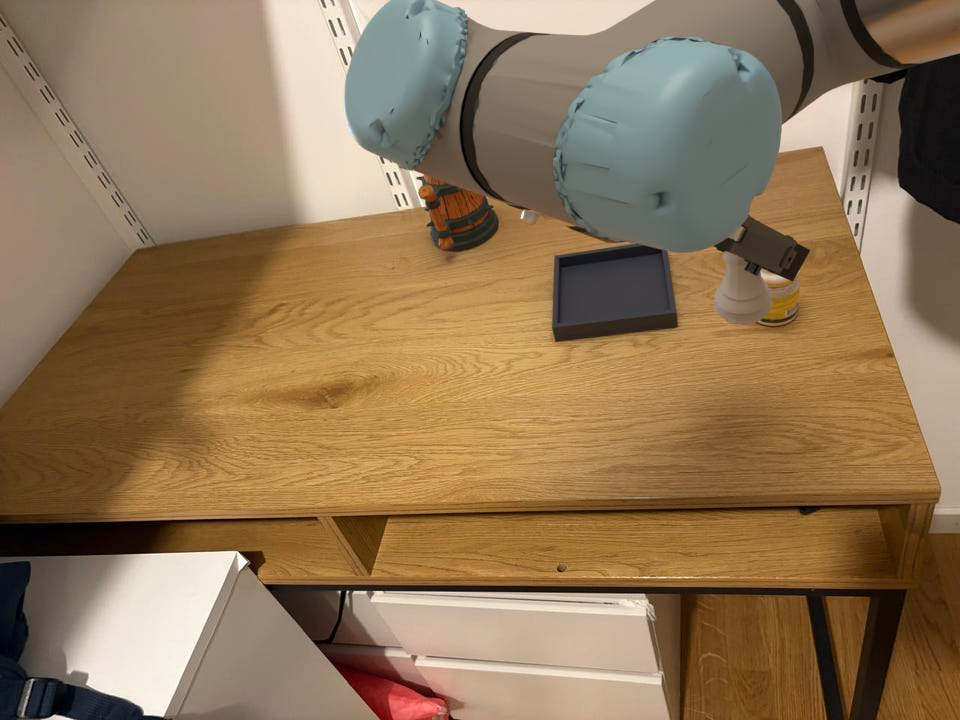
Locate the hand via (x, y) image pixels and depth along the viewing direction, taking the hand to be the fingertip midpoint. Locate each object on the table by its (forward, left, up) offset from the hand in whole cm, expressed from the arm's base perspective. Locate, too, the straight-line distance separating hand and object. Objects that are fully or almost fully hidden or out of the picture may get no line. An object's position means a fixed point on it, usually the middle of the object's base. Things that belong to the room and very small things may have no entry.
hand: (775, 254), depth 60 cm
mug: (+34, +34, -16) cm, 51 cm away
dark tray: (+17, +14, -16) cm, 27 cm away
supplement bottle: (+11, -2, -16) cm, 19 cm away
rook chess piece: (-2, +3, -3) cm, 5 cm away
